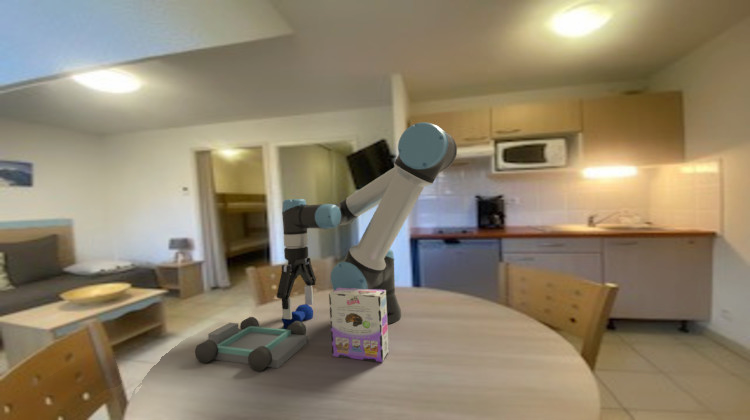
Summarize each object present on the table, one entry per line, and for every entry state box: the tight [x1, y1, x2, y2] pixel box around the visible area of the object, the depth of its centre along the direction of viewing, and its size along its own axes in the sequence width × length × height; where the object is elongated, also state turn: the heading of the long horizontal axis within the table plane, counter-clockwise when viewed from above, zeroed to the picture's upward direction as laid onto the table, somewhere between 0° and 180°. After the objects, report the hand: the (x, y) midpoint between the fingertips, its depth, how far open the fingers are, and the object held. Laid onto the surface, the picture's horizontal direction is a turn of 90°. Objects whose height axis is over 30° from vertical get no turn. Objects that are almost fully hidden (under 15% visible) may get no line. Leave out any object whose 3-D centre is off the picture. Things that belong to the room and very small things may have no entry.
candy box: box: [328, 288, 390, 363], centre depth 83 cm, size 14×6×16 cm, turn 71°
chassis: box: [194, 316, 308, 372], centre depth 88 cm, size 24×19×5 cm
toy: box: [281, 303, 314, 330], centre depth 106 cm, size 7×6×15 cm
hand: (299, 311), depth 106 cm, fingers open, 13 cm apart
